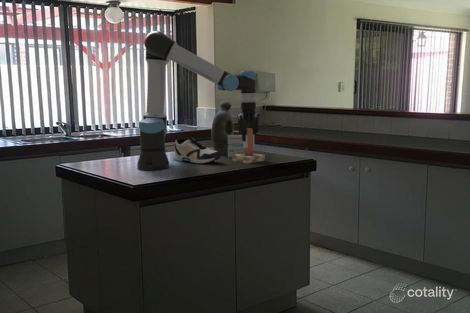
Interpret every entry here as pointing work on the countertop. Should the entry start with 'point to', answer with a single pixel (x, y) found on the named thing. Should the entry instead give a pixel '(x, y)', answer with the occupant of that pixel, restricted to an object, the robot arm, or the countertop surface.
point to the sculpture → (222, 128)
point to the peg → (249, 143)
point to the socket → (248, 158)
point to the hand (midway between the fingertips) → (248, 147)
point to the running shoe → (194, 152)
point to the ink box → (235, 145)
